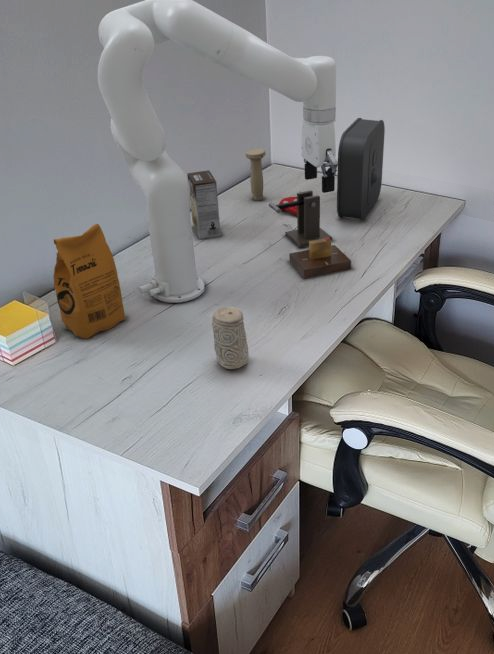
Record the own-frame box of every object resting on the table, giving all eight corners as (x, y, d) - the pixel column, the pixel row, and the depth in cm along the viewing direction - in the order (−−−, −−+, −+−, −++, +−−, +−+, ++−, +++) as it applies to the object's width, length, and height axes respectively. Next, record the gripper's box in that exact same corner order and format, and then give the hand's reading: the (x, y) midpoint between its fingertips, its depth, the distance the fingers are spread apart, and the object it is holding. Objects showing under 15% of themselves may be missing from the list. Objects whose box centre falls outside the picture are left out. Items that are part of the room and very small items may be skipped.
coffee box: (192, 226, 191) (186, 172, 182) (214, 223, 193) (209, 169, 184) (199, 239, 184) (193, 183, 175) (221, 236, 186) (217, 180, 177)
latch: (277, 215, 174) (276, 207, 172) (268, 209, 177) (268, 200, 176) (317, 207, 179) (317, 198, 177) (308, 201, 182) (308, 192, 181)
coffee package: (57, 326, 147) (34, 235, 134) (106, 305, 155) (88, 216, 142) (82, 343, 141) (60, 249, 129) (131, 320, 149) (115, 230, 137)
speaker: (359, 193, 214) (362, 113, 199) (385, 196, 211) (390, 116, 197) (336, 223, 194) (338, 137, 180) (364, 227, 192) (369, 140, 178)
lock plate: (304, 278, 166) (304, 269, 164) (289, 261, 173) (289, 252, 172) (350, 269, 170) (351, 260, 169) (334, 253, 178) (334, 244, 176)
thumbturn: (311, 260, 169) (311, 243, 166) (308, 257, 170) (308, 240, 168) (331, 256, 171) (331, 239, 168) (328, 253, 172) (328, 236, 169)
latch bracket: (300, 248, 180) (299, 203, 173) (285, 235, 187) (284, 192, 179) (332, 240, 184) (332, 196, 177) (316, 228, 191) (316, 186, 183)
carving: (231, 349, 140) (227, 300, 133) (256, 363, 136) (253, 313, 129) (208, 362, 136) (203, 312, 129) (233, 377, 132) (229, 326, 125)
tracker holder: (314, 212, 197) (281, 206, 195) (310, 224, 200) (278, 218, 198) (311, 189, 205) (280, 183, 203) (308, 200, 208) (277, 195, 206)
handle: (270, 197, 210) (268, 150, 201) (256, 203, 205) (254, 155, 197) (258, 194, 212) (256, 147, 204) (245, 200, 208) (242, 152, 199)
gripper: (289, 107, 160) (291, 176, 169) (321, 126, 147) (321, 199, 157) (317, 103, 162) (317, 171, 172) (351, 121, 150) (349, 194, 159)
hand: (319, 185), depth 164 cm, fingers open, 9 cm apart
